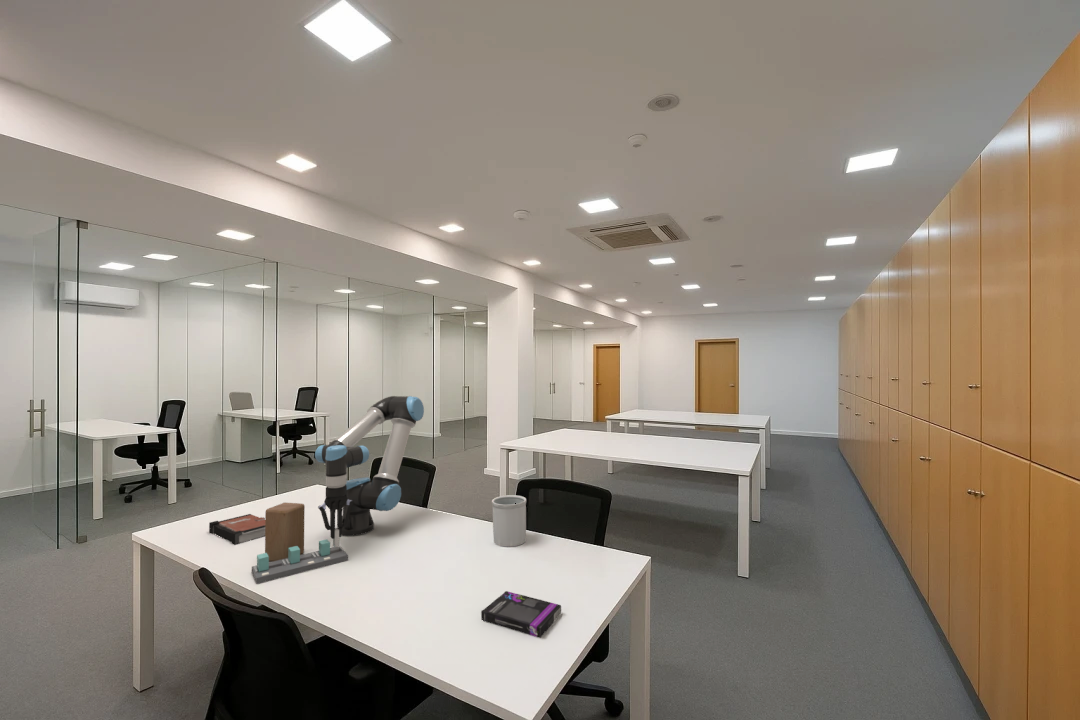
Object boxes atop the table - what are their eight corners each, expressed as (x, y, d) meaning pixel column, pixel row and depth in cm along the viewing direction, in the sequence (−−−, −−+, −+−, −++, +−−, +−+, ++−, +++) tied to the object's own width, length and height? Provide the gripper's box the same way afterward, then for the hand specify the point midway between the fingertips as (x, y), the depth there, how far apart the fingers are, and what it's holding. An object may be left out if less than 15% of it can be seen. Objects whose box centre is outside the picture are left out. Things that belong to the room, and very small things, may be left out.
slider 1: (266, 565, 163) (266, 552, 163) (268, 569, 159) (268, 556, 159) (256, 567, 161) (257, 554, 161) (258, 571, 157) (258, 558, 157)
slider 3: (326, 550, 176) (327, 539, 176) (330, 554, 172) (330, 542, 172) (318, 552, 174) (318, 540, 174) (321, 556, 170) (321, 544, 170)
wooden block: (286, 564, 169) (286, 510, 169) (263, 561, 171) (264, 509, 171) (305, 553, 179) (305, 502, 179) (283, 551, 181) (284, 501, 181)
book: (278, 533, 202) (278, 522, 202) (234, 546, 188) (235, 534, 188) (251, 522, 217) (251, 512, 217) (209, 533, 203) (209, 522, 203)
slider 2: (297, 557, 169) (297, 545, 169) (299, 561, 166) (300, 549, 166) (288, 560, 167) (288, 547, 167) (290, 563, 164) (290, 551, 164)
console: (339, 550, 181) (339, 544, 181) (348, 560, 172) (348, 553, 172) (251, 572, 162) (251, 564, 162) (256, 584, 153) (256, 576, 153)
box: (561, 616, 133) (505, 600, 142) (561, 604, 133) (505, 588, 142) (539, 641, 121) (480, 621, 130) (540, 627, 121) (480, 608, 130)
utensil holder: (485, 544, 187) (485, 502, 187) (501, 532, 201) (501, 493, 201) (517, 549, 181) (517, 506, 182) (532, 537, 195) (531, 496, 195)
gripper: (350, 481, 183) (350, 539, 183) (315, 486, 175) (315, 547, 175) (356, 484, 178) (356, 544, 177) (320, 490, 169) (320, 553, 169)
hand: (336, 545), depth 176 cm, fingers closed
